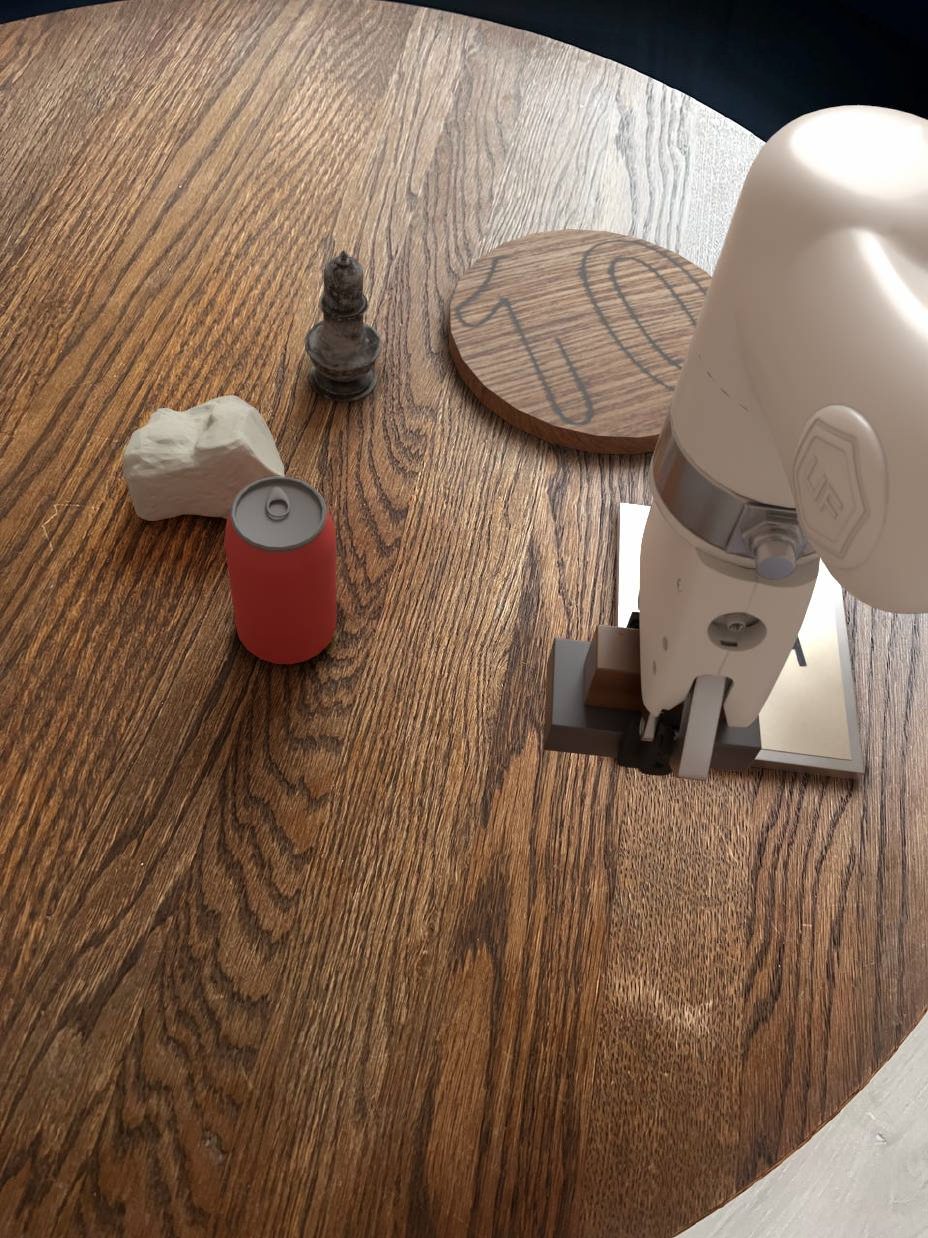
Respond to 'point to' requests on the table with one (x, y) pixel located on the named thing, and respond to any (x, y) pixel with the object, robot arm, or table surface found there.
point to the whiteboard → (783, 673)
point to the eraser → (617, 700)
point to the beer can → (282, 569)
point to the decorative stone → (198, 459)
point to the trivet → (577, 335)
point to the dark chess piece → (343, 336)
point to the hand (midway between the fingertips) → (648, 710)
